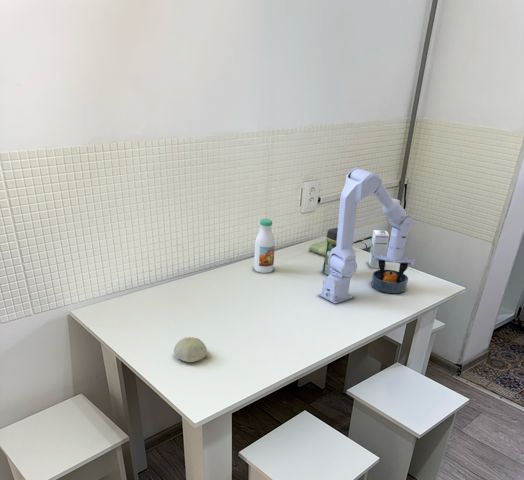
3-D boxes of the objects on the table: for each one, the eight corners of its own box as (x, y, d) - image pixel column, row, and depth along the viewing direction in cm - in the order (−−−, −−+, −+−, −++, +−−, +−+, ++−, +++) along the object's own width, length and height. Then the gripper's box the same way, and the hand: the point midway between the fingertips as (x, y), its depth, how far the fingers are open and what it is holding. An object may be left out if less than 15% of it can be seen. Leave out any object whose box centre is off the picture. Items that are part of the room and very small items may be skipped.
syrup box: (383, 268, 203) (390, 234, 196) (369, 267, 203) (375, 234, 196) (381, 263, 208) (387, 230, 200) (367, 262, 208) (373, 229, 200)
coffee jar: (335, 267, 202) (341, 223, 192) (349, 274, 196) (356, 228, 187) (318, 272, 197) (323, 226, 187) (332, 278, 191) (338, 232, 182)
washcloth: (352, 250, 220) (354, 243, 219) (329, 259, 209) (330, 252, 207) (329, 242, 228) (330, 235, 226) (305, 251, 216) (306, 244, 214)
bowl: (391, 297, 180) (393, 286, 177) (363, 284, 188) (365, 273, 186) (412, 289, 187) (415, 278, 185) (385, 277, 195) (387, 266, 193)
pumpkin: (390, 288, 183) (392, 275, 181) (378, 282, 187) (380, 269, 184) (399, 284, 187) (402, 271, 184) (387, 279, 190) (390, 266, 187)
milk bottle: (251, 271, 193) (253, 221, 183) (257, 264, 200) (259, 216, 189) (270, 274, 192) (273, 224, 181) (275, 267, 198) (278, 218, 188)
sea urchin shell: (207, 340, 143) (206, 333, 135) (206, 366, 141) (205, 361, 133) (176, 339, 142) (173, 332, 135) (174, 365, 141) (171, 360, 133)
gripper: (416, 244, 181) (408, 278, 188) (376, 240, 183) (370, 274, 190) (417, 251, 175) (409, 286, 182) (376, 246, 177) (370, 281, 185)
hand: (389, 280), depth 186 cm, fingers closed on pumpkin, 5 cm apart
